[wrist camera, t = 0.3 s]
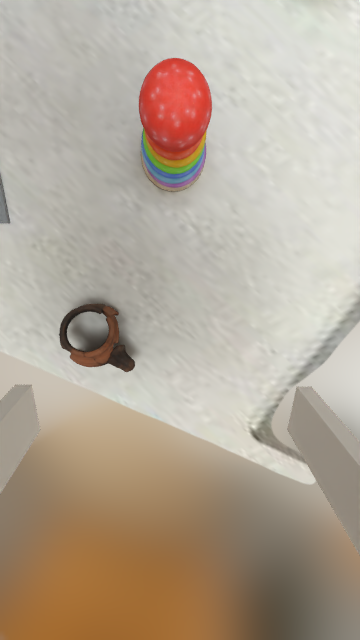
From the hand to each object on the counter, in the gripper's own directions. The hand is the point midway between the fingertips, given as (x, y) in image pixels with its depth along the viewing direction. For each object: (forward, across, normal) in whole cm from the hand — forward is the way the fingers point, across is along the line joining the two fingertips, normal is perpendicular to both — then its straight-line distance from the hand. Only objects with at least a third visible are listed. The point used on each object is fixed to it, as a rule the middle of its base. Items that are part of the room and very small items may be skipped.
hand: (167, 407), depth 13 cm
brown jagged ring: (+28, -10, -8) cm, 31 cm away
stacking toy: (+28, 0, +17) cm, 32 cm away
